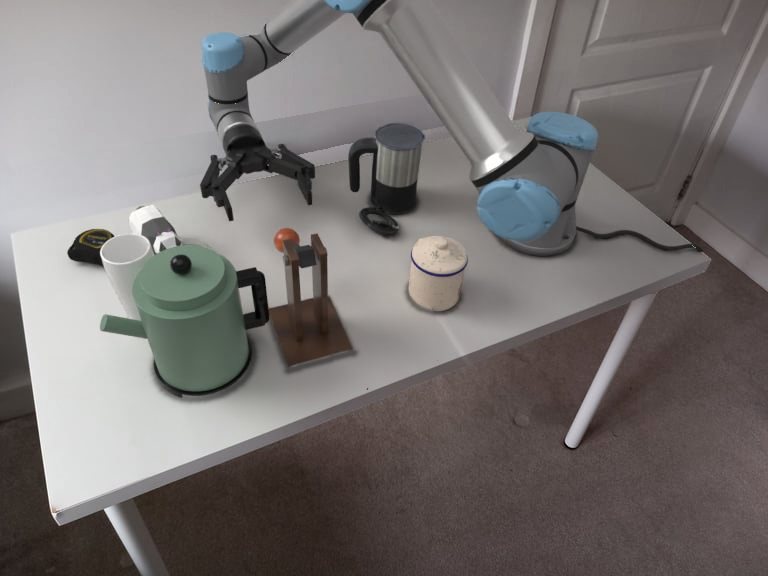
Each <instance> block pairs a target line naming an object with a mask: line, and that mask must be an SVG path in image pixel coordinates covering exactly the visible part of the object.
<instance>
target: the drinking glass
mask: <svg viewBox="0 0 768 576" xmlns="http://www.w3.org/2000/svg"><path fill="white" fill-rule="evenodd" d="M100 255H101V259H102V262H103V265H104V266H103V269H104V270H105V271H104V272H105V274H106V276H107V278H108V280H109V282H110V284H111V287H112V288H113V290H114V292H115V294H116V296H117V298H118V300H119V302H120V304H121V306H122V308H123V310H124V312H125V314H126V316H127V318H128V319H134V320H139V321H141V319H140V316H139V313H138V310H137V307H136V304H135V301H134V298H133V295H132V286H133V282H134V280H135V278H136V276H137V274H138V273H139V272H140V270H141V269H142V268H143V266H144V265H145V263H146V262H147V261H148V260H149V259H150V258H152V257H153V256H154V252H153V249H152V247H151V244H150V241H149V240H148V239H147V238H146V237H144V236H142V235H139V234H133V233H132V232H129V233H122V234H118V235H116V236H115V235H114V237H113V238H111V239H109V240H108V241H107V242H105V243H104V245H103V246H102V248H101V250H100Z"/></svg>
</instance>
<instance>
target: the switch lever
mask: <svg viewBox="0 0 768 576" xmlns="http://www.w3.org/2000/svg"><path fill="white" fill-rule="evenodd" d="M287 239H290V241H291V244H292V246H293V248H294V250H295V253H296V255H297V257H298V260H299V269H305V268H311V267H312V266H315V265H317V263H316V257H315V252H314V248H313V247H311V244H305V245H301V244H300V243H301V238H300V235H299V234H298V232H297V231H296V230H295V229H293V228H290V227H283V228H280V229H279V230H278V231H276V233H275V235H274V237H273V244H274V247H275V249H276V250H277V251H278V252H279V253H282V254H284V253H283V240H287Z"/></svg>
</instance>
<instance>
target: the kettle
mask: <svg viewBox="0 0 768 576" xmlns="http://www.w3.org/2000/svg"><path fill="white" fill-rule="evenodd" d="M247 287H250V288H251V294H252V302H253V303H252V304H253V310H254V311H250V312H246V313H244V311H243V305H242V299H241V292H240V289H242V288H247ZM132 295H133V298H134V301H135V304H136V307H137V310H138V313H139V316H140V319H141V321H139V320H134V319H129V318H128V317H122V316H117V315H112V314H106V313H104V315H102V317H101V320H100V323H99V330H100V331H101V332H104V333H109V334H115V335H122V336H128V337H134V338H140V339H146V340H147V342H148V346H149V348H150V351H151V353H152V356H153V370H154V374H155V377H156V379H157V381H158V383H159V384H160V385H161V387H162V388H163V389H164V390H165V391H166V392H168V393H169V394H171V395H173V396H175V397H178V398H181V399H183V396H189V397H201V396H208V395H213V394H215V393H219V392H221V391H223V390H226V389H228V388H230V387H231V386H233V385H234V384H235V383H237V382H238V381H240V379H241V378H242V377H243V376H244V374H246V372H247V370H248V369H249V367H250V365H251V363H252V359H253V346H252V342H251V340H250V338H249V336H248V335H247V331H249V330H252V329H257V328H260V327H264V326H266V324H268V323H269V322H270V320H271V318H270V316H269V299H268V292H267V282H266V276H265V274H264V272H262V271H260V270H258V269H257V267H256V266H254V267H249V268H245V269H241V270H236V268H235V266H234V265H233V263H232V262H231V261H230V259H228V258H227V257H225V256H224V255H222V254H220V253H217V252H216V251H215V250H214V249H213V250H212V248H208V247H205V246H202V245H197V244H184V245H183V244H182V246H176V247H172V248H169V249H166V250H163V251H161V252H159V253H157V254H156V255H154V256H153V257H152V258H150V259H149V260H148V261H147V262H146V263H145V265H144V266H143V268H142V269H141V270H140V272H139V273H138V274H137V276H136V278H135V280H134V282H133V286H132Z"/></svg>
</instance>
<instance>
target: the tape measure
mask: <svg viewBox="0 0 768 576" xmlns="http://www.w3.org/2000/svg"><path fill="white" fill-rule="evenodd" d="M113 237H115V235H114V234H113V233H112V232H110V231H109V230H107V229H104V228H91V229H88V230H85V231H82V232H81V233H79V234H78V235H77V236H76V237H75V239H74V240H73V242H72V244H71V245H70V246H69V248H68V249H67V252H66V254H67V256H68V258H69V259H70V260H71V261H73V262H77V263H85V264H89V265H90V264H91V265H96V266H100V267H104V265H103V262H102V259H101V255H100V250H101V248H102V246H103V245H104V243H105V242H107V241H108V240H109V239H111V238H113Z"/></svg>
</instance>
